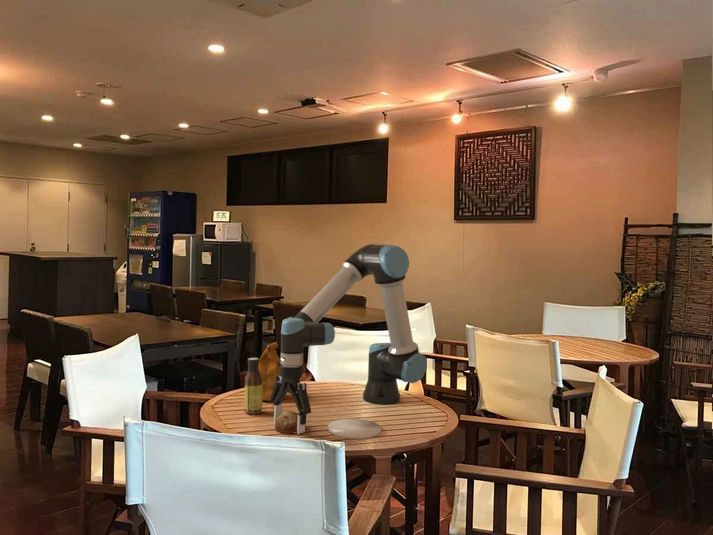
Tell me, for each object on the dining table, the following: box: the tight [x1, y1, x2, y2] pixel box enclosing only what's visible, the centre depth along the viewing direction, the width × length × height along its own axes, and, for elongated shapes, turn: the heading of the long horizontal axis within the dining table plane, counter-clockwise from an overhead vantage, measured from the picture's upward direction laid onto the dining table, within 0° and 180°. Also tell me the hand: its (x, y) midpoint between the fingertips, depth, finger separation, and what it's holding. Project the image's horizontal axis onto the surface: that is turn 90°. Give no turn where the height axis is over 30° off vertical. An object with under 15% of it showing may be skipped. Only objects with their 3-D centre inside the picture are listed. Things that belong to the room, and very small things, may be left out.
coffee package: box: [258, 341, 282, 402], centre depth 237 cm, size 10×12×22 cm
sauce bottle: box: [244, 357, 263, 415], centre depth 218 cm, size 7×6×20 cm
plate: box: [327, 418, 382, 440], centre depth 203 cm, size 18×18×1 cm
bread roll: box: [274, 410, 306, 434], centre depth 201 cm, size 10×10×8 cm
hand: (288, 428), depth 201 cm, fingers open, 12 cm apart
